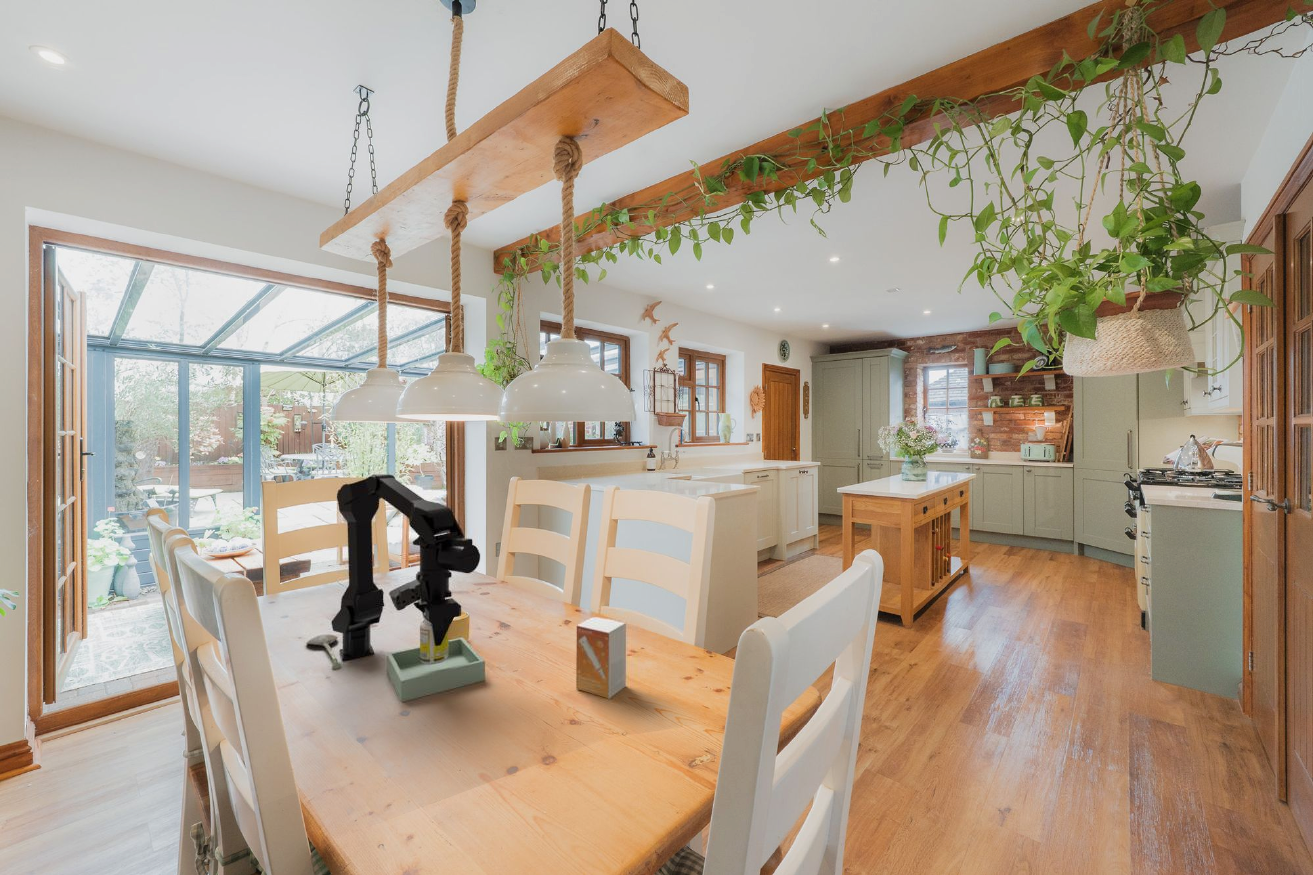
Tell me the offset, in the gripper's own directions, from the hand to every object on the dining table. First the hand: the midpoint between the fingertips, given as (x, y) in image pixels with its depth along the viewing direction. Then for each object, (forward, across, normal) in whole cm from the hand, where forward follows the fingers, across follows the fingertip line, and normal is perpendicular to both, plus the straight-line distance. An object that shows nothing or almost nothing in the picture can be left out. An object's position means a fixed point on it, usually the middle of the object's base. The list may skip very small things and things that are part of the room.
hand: (434, 640), depth 115 cm
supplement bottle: (+4, 0, 0) cm, 4 cm away
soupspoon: (+8, -27, -18) cm, 33 cm away
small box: (+7, +25, +26) cm, 37 cm away
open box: (+7, 0, 0) cm, 7 cm away
